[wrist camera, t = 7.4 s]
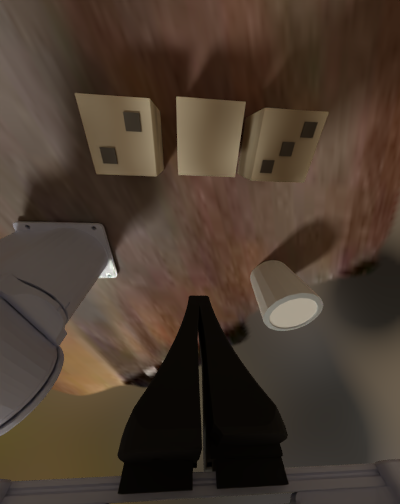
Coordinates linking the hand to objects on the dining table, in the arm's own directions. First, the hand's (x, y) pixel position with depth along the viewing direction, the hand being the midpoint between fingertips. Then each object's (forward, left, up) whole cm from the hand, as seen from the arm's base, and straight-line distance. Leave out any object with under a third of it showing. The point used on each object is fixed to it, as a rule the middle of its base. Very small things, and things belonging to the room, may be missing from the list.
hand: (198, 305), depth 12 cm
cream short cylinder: (+11, -6, -11) cm, 17 cm away
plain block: (+1, +10, -11) cm, 15 cm away
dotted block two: (-6, +10, -11) cm, 15 cm away
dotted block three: (+6, +10, -11) cm, 16 cm away
